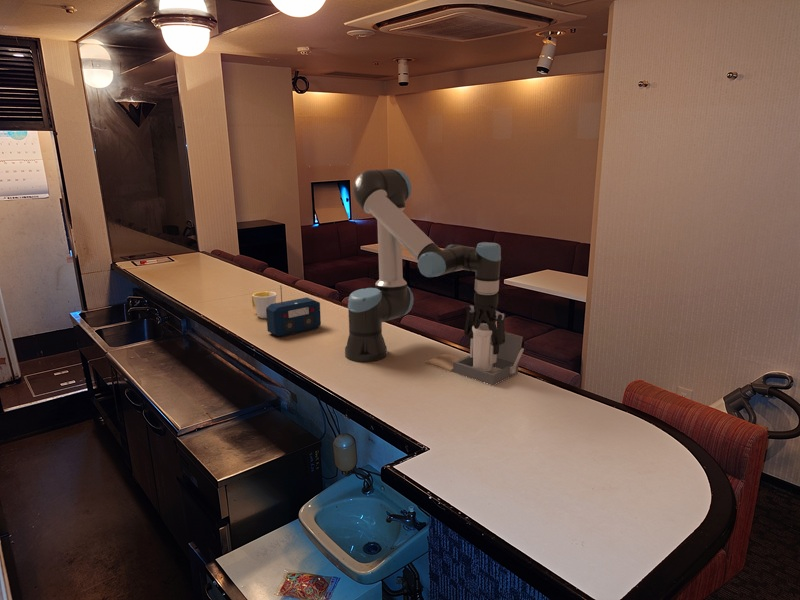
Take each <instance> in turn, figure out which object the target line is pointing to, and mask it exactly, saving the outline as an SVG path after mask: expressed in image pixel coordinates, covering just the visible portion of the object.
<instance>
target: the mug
mask: <svg viewBox="0 0 800 600" xmlns="http://www.w3.org/2000/svg"><path fill="white" fill-rule="evenodd" d="M274 303H277V292H274V291H257V292H254V293H253V294H252V296H251V304H252V309H254V310H255V313H256V315H257V316H258V318H260V319H267V315H266V308H267V307H268V306H269V305H271V304H274Z"/></svg>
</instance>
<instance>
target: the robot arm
mask: <svg viewBox="0 0 800 600" xmlns="http://www.w3.org/2000/svg"><path fill="white" fill-rule="evenodd" d="M411 194H412V183H411V180H410V178H409V176H408V175H407V174H406V173H405V172H404V171H402V170H400V169H395V168H394V169H393V168H385V169H384V168H383V169H367V170H364V171H362V172H361V173H359V174H358V175H357V176H356V177H355V179H354V181H353V185H352V195H353V197H354V198H353V199H354V201H355V202H356V203H357V205H358V206H359V207H360V209H362V211H364V212H365V214H369V215H371V216H373V217H374V218H375V219H376V221H377V243H378V244H377V245H378V246H377V249H378V253H377V254H378V278H379V279H378V280H377V281H376V282H375V287H366V288H360V289H357V290H354V291H352V292H351V293H350V294H349V296H348V303H347V309H348V310H347V311H348V333H349V334H348V337H347V340H346V341H347V342H346V346H345V348H344V355H345V358H346V359H348V360H351V361H355V362H362V363H363V362H364V363H365V362H367V363H368V362H375V361H379V360H382V359H384V358H385V357H386V356H387V355H388V348H387V345H386V342H385V339H384V335H383V333H382V332H383V329H382V328H383V327H382V325H383V324H382V323H385V322H388V321H391V320H395V319H399V318H402V317H403V316H405V315H407V314H408V313H409V312H410V311H411V310H412V308H413V306H414V300H415V299H414V294H413V291H412V290H411V288H410V287H409V286H408V282H407V281H406V280H405V279H404V277H403V276H404V275H403V274H404V273H403V247H404V249H406V250H407V251H408V252H409V253H410V254H411V256H413V258H415V259H416V260H417V268H418V269H419V270H418V271H419V272H420V274H421V275H422V276H424V277H426V278H434V277H439V276H443V275H446V274H450V273H454V272H458V271H462V270H463V271H468V272H470V271H471V272H475V274H474V275H475V276H474V277H475V278H474V291H475V292H474V293H473V294H474V296H473V298H474V299H473V303H474V305H473V304H471V305H468V306H466V317H465V325H464V330H463V335H466V336H467V337H468V347H469V348H470V349H469V355H470V357H471V358H472V357H473V331H472V326H473V325H474V326H475V329H477V328H479V326H480V324H481V323H482V321H484V322H486V323H485V324H487V325H488V327H489V330H491V331H492V335H491V338H492V342H493V344H491V347H490V364H493V363H495V362H496V359H497V354H498V353H499V345H501V344H503V343H505V332H506V329H505V328H506V327H505V318H506V313H505V312H503V313H501V312H500V311H499V310H498V304H499V293H498V292H499V289H500V270H501V260H502V255H501V253H502V251H501V250H502V249H501V245H500V244H499V243H496V242H487V241H482V242H479V243H477V245H476V247H473V246H465V245H461V244H449V245H447V246H445V248H444V249H442V248H440V247H439V246H438V245H437V244H436V243H435V242H434V241H433V240H432V239H431V238H430V237H429V236H427V234H426V233H425V232H424V231H423V230H422V229H421V228H420V227H419V226H417V224H415V223H414V221H412V219H410V218H409V217H408V216H407V214H406V213H404V212H403V211H404V210H405V209H406V201H408V200H409V199H410V197H411Z"/></svg>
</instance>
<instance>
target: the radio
mask: <svg viewBox="0 0 800 600" xmlns="http://www.w3.org/2000/svg"><path fill="white" fill-rule="evenodd" d="M279 287H280V299H281V300H280V301H281V302H276V303H274V304H271V305H269V306H268V307H267V308H266V315H267V318H266V326H267V332H269V333H270V334H272V335H275V336H276V337H279V338H283V337H287V336H291V335H296V334H300V333H304V331H305V332H308V330H309V331H313V330H317V329H318V328H319V327H320V326H321V325H322V322H321V321H322V320H321V303H320V302H319V301H318V300H315V299H312V298H309V297H302V298H296V299H291V300H285V301H283V294H282V293H283V292H282V284H280V285H279ZM316 328H317V329H316ZM312 329H313V330H312Z"/></svg>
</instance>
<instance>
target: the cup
mask: <svg viewBox="0 0 800 600" xmlns="http://www.w3.org/2000/svg"><path fill="white" fill-rule="evenodd" d="M472 331H473V365H472V367H474V368H477V369H480V370H483V371H486V372H489V371H491V370H493V367H492V364H490V347H491V344H493V342H492V338H491V335H492V331H491V330H489V327H488V325H487V323H484V322H483V323H482V322H481V324H480V326H479V328H477V329H475V326H474V325H473V326H472Z"/></svg>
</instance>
